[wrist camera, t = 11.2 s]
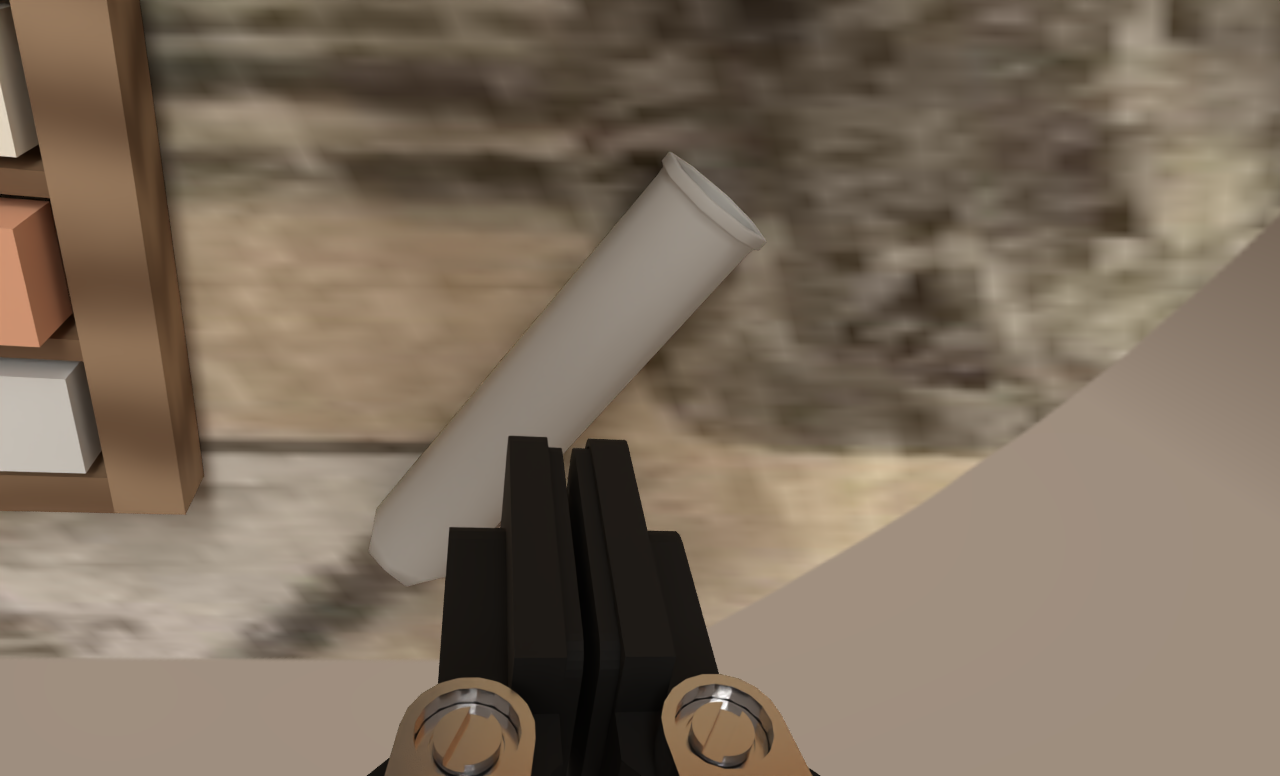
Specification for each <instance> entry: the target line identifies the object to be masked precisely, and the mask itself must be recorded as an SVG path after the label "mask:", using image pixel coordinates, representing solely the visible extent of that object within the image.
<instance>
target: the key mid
mask: <svg viewBox="0 0 1280 776" xmlns="http://www.w3.org/2000/svg"><path fill="white" fill-rule="evenodd" d="M71 314H72V308H71V303H70V298H69V294H68V289H67V284H66V279H65V274H64V269H63V264H62V260H61V255H60V250H59V245H58V240H57V235H56V230H55V226H54V221H53V216H52V211H51V206H50V201H38V200H26V199H15V198H3V197H0V345H7V346H25V347H41V346H42V344H43V343H44V342H45V341H46V340H47V339H48V338H49V337H50V336H51V335H52V334H53V333H54V332H55V331H56V330H57V329H58V328H59V327H60V326H61V325H62V324H63V322H64V321H65V320H66V319H67V318H68V317H69V316H70V315H71Z"/></svg>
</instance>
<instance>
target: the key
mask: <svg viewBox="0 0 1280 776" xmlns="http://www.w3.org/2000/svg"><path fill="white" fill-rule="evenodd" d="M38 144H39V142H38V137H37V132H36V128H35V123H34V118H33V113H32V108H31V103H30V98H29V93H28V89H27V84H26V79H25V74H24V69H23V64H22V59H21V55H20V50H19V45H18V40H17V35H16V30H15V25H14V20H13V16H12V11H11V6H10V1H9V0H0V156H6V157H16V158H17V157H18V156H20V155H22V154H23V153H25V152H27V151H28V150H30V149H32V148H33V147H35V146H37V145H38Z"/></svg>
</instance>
